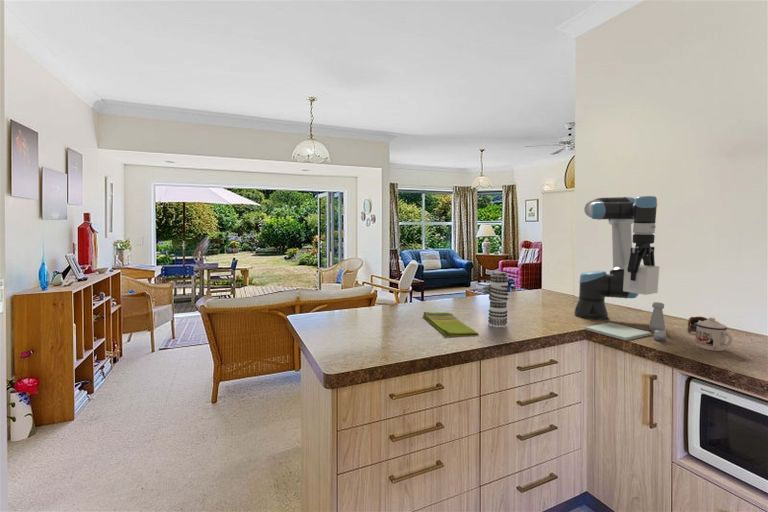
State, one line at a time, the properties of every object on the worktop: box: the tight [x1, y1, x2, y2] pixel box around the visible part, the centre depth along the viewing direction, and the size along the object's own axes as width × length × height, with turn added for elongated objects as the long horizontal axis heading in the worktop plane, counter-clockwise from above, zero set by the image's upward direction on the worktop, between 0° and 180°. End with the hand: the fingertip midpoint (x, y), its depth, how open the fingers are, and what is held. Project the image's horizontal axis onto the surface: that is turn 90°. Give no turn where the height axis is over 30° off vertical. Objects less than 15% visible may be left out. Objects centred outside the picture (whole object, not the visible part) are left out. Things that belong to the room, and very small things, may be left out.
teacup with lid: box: [695, 317, 734, 352], centre depth 145 cm, size 12×9×12 cm
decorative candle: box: [487, 271, 510, 328], centre depth 177 cm, size 9×9×25 cm
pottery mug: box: [686, 316, 708, 334], centre depth 168 cm, size 12×10×8 cm
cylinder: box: [653, 329, 667, 343], centre depth 155 cm, size 4×4×4 cm
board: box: [584, 322, 652, 341], centre depth 167 cm, size 18×18×1 cm
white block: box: [623, 264, 660, 296], centre depth 160 cm, size 9×9×11 cm
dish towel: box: [422, 311, 480, 338], centre depth 178 cm, size 15×36×3 cm, turn 9°
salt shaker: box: [648, 301, 666, 333], centre depth 168 cm, size 6×6×13 cm
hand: (640, 287), depth 160 cm, fingers closed on white block, 9 cm apart
